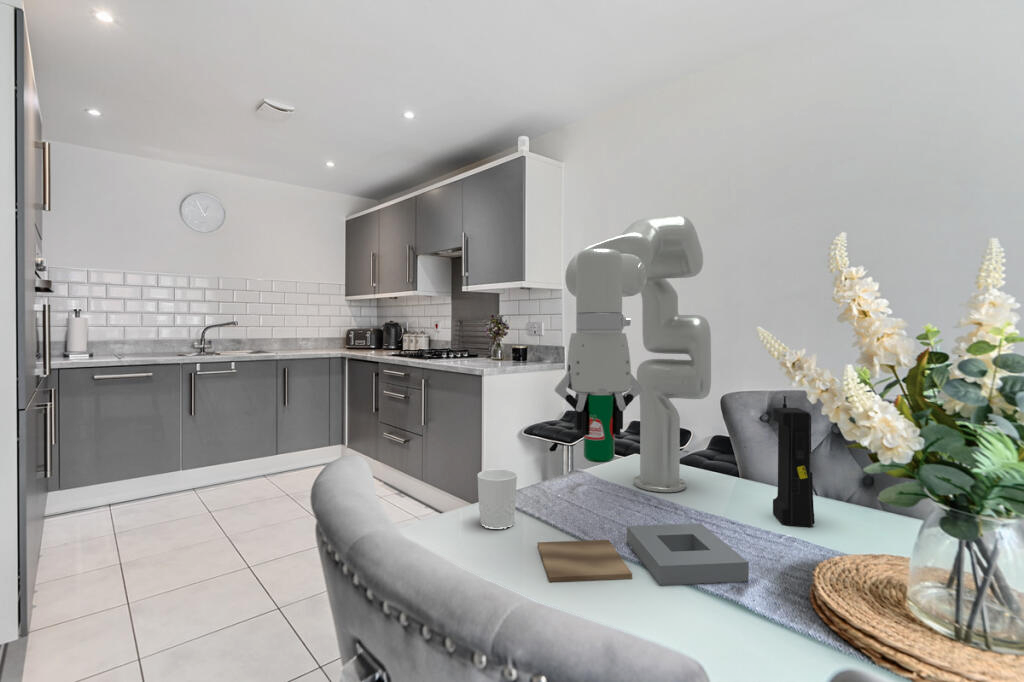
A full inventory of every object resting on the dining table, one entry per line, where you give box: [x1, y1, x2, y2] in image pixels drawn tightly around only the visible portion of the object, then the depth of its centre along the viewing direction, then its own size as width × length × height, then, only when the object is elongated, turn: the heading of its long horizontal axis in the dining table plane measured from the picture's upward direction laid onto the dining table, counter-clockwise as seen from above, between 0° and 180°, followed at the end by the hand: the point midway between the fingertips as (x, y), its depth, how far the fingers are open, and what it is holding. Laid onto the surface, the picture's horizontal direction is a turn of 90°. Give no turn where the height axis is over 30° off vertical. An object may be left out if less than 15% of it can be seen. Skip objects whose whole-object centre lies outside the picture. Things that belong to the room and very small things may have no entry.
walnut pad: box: [537, 539, 633, 583], centre depth 85 cm, size 13×13×1 cm
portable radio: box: [772, 395, 816, 528], centre depth 103 cm, size 8×6×25 cm
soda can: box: [583, 389, 615, 464], centre depth 85 cm, size 5×5×12 cm
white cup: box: [477, 468, 518, 528], centre depth 102 cm, size 8×8×10 cm
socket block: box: [626, 522, 750, 586], centre depth 85 cm, size 16×14×3 cm
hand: (598, 432), depth 85 cm, fingers closed on soda can, 5 cm apart
